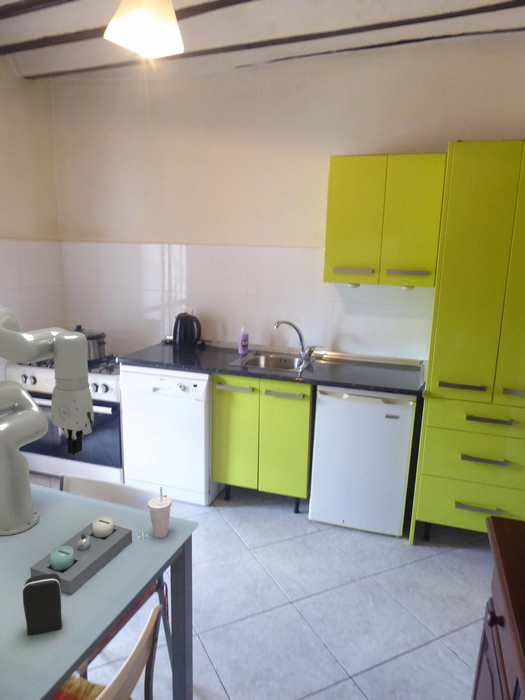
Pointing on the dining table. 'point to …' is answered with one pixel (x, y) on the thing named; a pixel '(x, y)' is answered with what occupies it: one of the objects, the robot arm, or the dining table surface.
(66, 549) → the knob
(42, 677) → the dining table surface
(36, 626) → the black rounded upright block
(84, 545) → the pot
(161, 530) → the smoothie
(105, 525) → the knob
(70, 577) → the mount
